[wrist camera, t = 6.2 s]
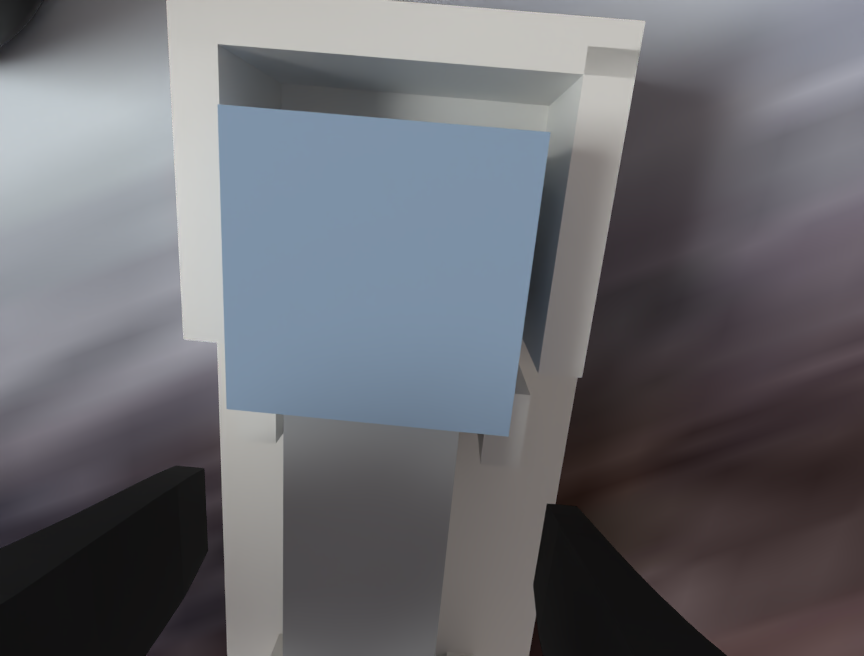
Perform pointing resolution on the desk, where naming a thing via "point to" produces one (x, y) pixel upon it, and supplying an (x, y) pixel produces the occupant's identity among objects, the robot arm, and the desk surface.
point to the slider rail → (550, 277)
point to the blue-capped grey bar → (372, 344)
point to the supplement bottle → (15, 17)
